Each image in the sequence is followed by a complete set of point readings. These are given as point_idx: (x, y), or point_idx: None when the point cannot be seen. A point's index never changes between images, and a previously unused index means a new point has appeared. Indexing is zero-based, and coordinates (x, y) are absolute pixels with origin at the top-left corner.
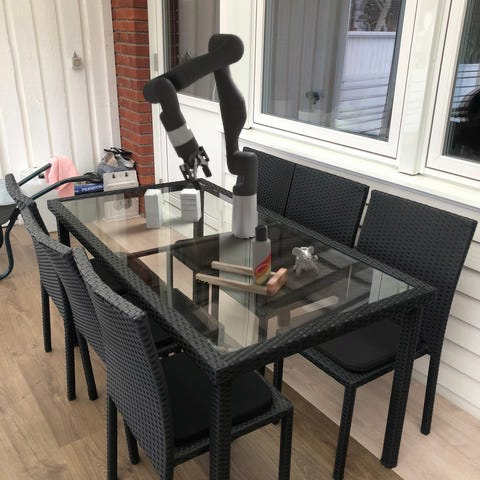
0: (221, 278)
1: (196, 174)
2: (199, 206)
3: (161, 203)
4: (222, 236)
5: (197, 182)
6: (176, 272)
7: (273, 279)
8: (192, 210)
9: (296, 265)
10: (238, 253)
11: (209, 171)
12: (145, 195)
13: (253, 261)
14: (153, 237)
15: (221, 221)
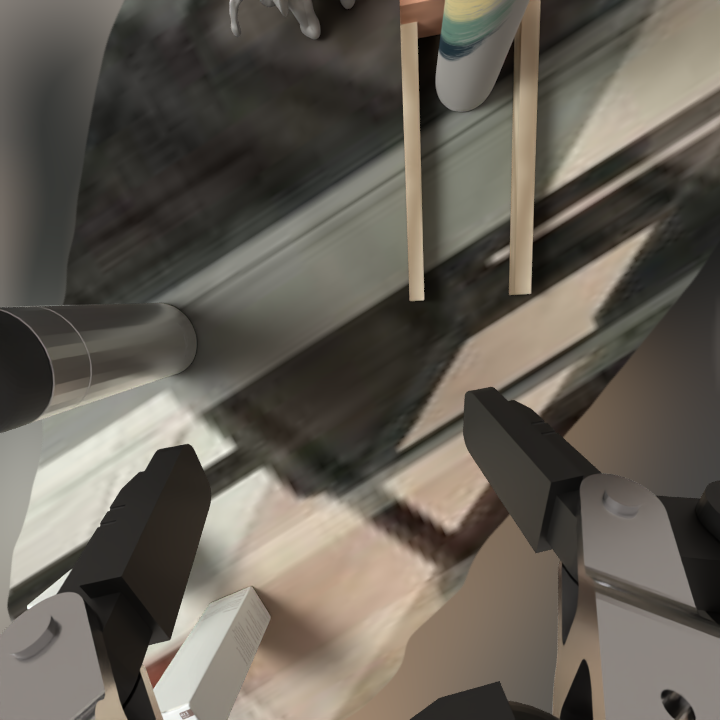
0: (521, 199)
1: (589, 550)
2: None
3: (174, 661)
4: (210, 396)
5: (546, 450)
6: (496, 379)
7: None
8: None
9: (314, 14)
10: (293, 283)
11: (154, 494)
12: None
13: (518, 25)
14: (314, 568)
15: (120, 457)
